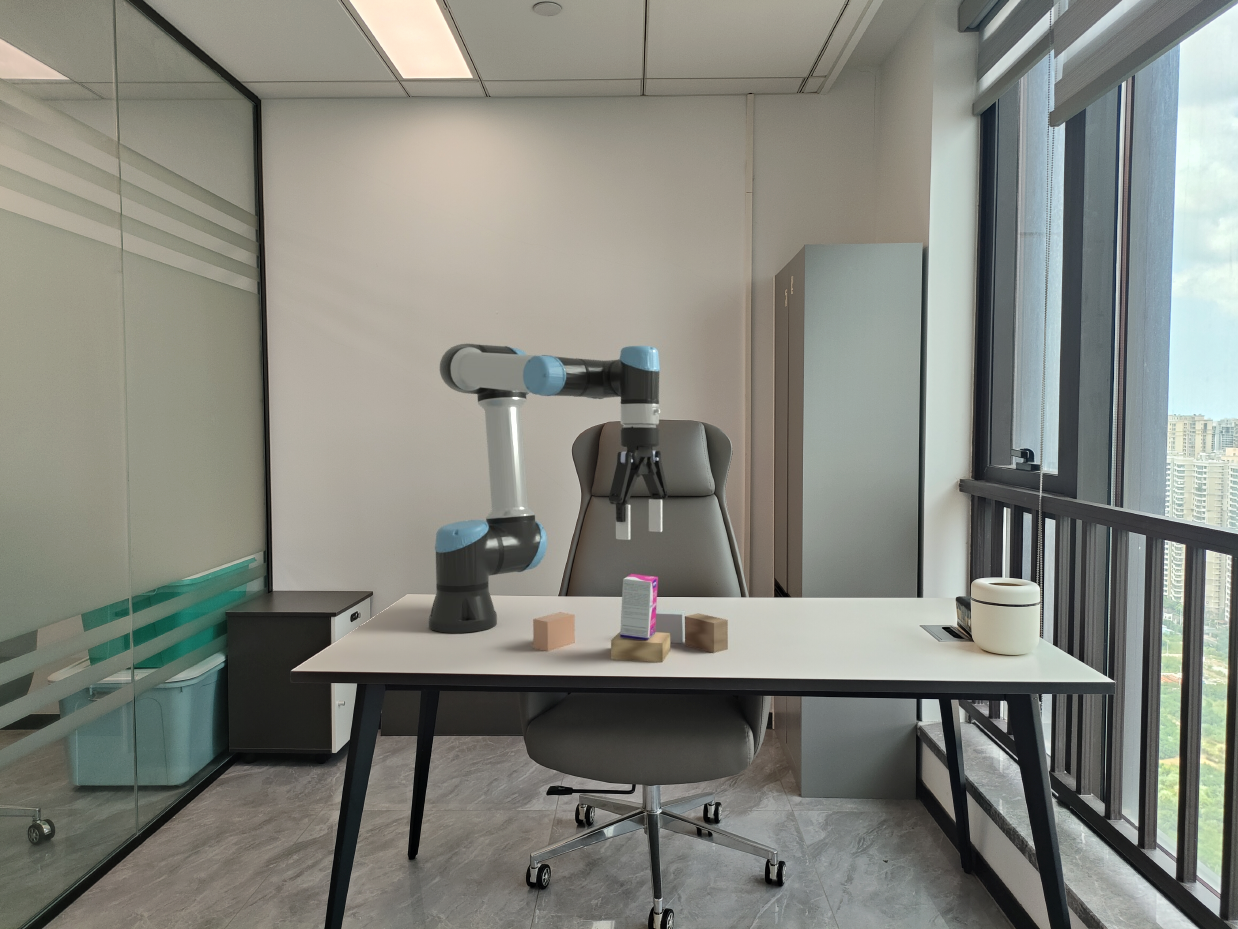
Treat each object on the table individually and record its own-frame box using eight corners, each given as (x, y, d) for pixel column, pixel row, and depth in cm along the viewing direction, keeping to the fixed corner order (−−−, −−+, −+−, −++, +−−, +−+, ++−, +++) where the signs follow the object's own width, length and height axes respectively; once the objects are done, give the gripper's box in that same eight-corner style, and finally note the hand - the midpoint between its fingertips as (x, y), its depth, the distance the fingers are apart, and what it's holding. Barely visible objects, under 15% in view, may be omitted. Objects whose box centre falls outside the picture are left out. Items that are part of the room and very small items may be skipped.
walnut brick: (684, 645, 159) (684, 616, 158) (698, 642, 161) (698, 613, 161) (714, 653, 152) (714, 623, 152) (727, 649, 155) (727, 619, 155)
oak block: (611, 661, 149) (610, 640, 149) (621, 650, 157) (621, 630, 156) (662, 664, 146) (662, 643, 146) (670, 653, 154) (670, 633, 154)
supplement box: (649, 641, 148) (650, 581, 147) (619, 637, 150) (620, 578, 149) (656, 633, 153) (658, 575, 153) (627, 630, 155) (629, 573, 154)
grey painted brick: (643, 641, 162) (643, 613, 162) (647, 637, 166) (647, 608, 165) (682, 643, 160) (682, 614, 160) (684, 638, 164) (684, 610, 164)
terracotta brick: (547, 651, 155) (547, 621, 154) (533, 648, 157) (533, 619, 157) (574, 643, 161) (574, 614, 161) (560, 640, 163) (560, 612, 163)
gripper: (625, 425, 139) (626, 544, 140) (684, 426, 161) (684, 529, 161) (590, 426, 143) (590, 541, 143) (651, 427, 164) (651, 527, 165)
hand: (639, 535), depth 152 cm, fingers open, 13 cm apart
